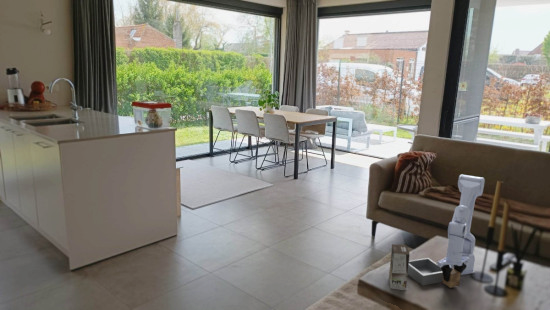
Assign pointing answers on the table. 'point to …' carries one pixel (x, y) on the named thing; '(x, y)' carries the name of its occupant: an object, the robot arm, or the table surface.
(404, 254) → the coffee box
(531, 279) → the table surface
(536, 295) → the table surface
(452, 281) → the tan block
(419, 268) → the gray bin
